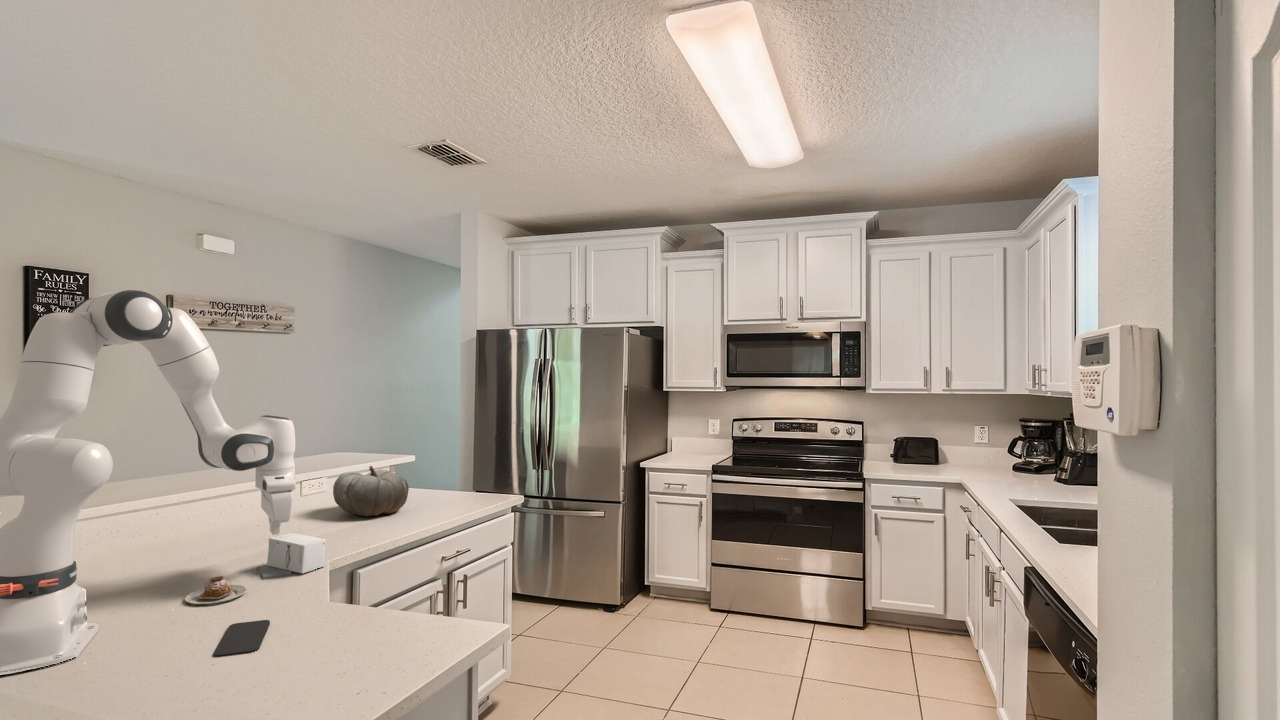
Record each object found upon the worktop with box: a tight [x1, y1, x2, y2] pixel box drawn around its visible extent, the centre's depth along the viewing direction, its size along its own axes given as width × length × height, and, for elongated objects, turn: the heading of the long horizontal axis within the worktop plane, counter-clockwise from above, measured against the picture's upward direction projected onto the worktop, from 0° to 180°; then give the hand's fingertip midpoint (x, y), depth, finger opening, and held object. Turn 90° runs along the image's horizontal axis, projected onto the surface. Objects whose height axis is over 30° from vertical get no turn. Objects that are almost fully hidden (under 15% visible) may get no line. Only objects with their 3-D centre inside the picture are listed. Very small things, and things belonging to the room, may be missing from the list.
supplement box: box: [266, 532, 327, 574], centre depth 172 cm, size 7×7×13 cm
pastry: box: [184, 576, 248, 606], centre depth 151 cm, size 12×12×5 cm
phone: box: [213, 619, 271, 658], centre depth 129 cm, size 7×1×15 cm
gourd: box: [332, 465, 409, 517], centre depth 233 cm, size 25×25×17 cm
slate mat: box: [257, 564, 292, 580], centre depth 169 cm, size 10×6×1 cm, turn 38°
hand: (274, 533), depth 168 cm, fingers closed
